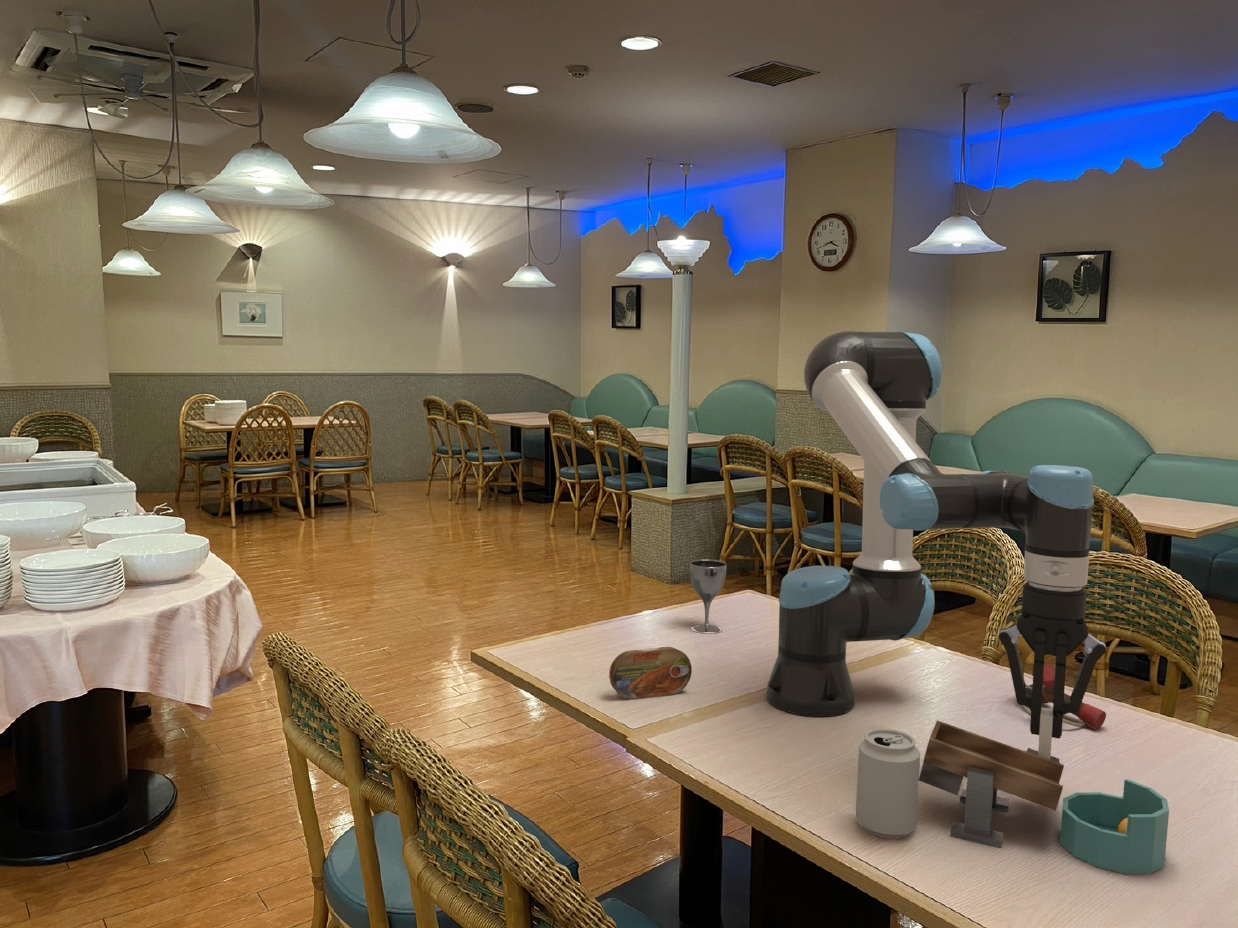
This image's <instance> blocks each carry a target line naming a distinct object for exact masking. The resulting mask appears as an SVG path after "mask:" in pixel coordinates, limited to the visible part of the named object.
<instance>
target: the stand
mask: <svg viewBox="0 0 1238 928" xmlns="http://www.w3.org/2000/svg"><path fill="white" fill-rule="evenodd" d="M993 786H994V771H989V770H984V769H979V768H974V767H969V768H968V772H967V778H966V789H965V788H962V789H961V792H960V796H959V802H960V803H965V806H964V807H965V809H964V820H963V821H964V823H960V822H956V821H952V824H951V827H950V833H949V834H950V835H949V836H950V837H952V838H957V839H961V840H967V841H971V842H974V843H979V844H983V845H987V846H990V847H995V848H1000V849H1002V848H1003V843H1004V842H1003V841H1004V832H999V831H996V830H991V829H992V814H993V809H994V810H999V811H1004V812H1007V813H1008V812H1009V807H1010V798H1007V797H1004V796H1000V795H998V789H995V788H993Z"/></svg>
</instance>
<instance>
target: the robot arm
mask: <svg viewBox="0 0 1238 928" xmlns="http://www.w3.org/2000/svg"><path fill="white" fill-rule="evenodd" d="M942 372H943V371H942V362H941V358H940V354H939V352H938V350H937V348H936V346H935V345H934V344H933V343H932V341H931V340H930V339H929V338H927V337H926V336H924V335H922V334H919V333H911V332H904V331H855V330H854V331H853V330H845V331H844V330H843V331H838V332H834V333H832V334H830V335H828V336H826V337H824V338H823V339H822V340H820V341H819V342H818V343H817V344H816V345H814V347H813V348H812V350H811V351H810V353H809V355H808V357H807V359H806V361H805V365H804V371H803V378H804V380H803V382H804V385H805V389H806V391H807V393H808V395H809V397H810V399H811V400H812V401H813V404H815V405H816V407H817V408H819V409H820V411H821V410H822V411H824V412H827V413H829V414H830V416H831V417H832V418H833V420H834V421H835V422H836V424H837V425H838V426H839V428H840V429H841V430H842V432H843V433H844V435H845V436H846V438H847V439H848V440H849V442H850V443H851V444H852V445H853V448H854V449H855V450H856V451H857V452H858V454H859V455H860V457H861V458H862V460H863V491H862V492H863V493H862V495H863V496H862V497H863V498H862V529H861V531H862V536H861V538H862V539H861V553H860V555H858V557H856V558H855V559H854V560H853V561H852V574H850V573H849V571H848V569H846V568H844V567H841V566H836V565H825V566H824V565H812V566H811V565H810V566H804V567H801V568H797V569H796V568H795V569H794V570H792V571H789V572H788V573H787V574H785V576H784V577H782V580H781V585H780V593H779V598H778V603H779V608H778V609H779V611H778V612H779V615H778V617H779V619H778V647H777V648H778V649H777V657H776V660H775V663H774V666H773V668H772V670H771V673H770V675H769V679H768V681H767V685H766V695H765V697H766V700H767V701H768V703H770V705H771V706H773V707H775V708H777V709H780V710H782V711H785V712H789V713H791V714H795V715H802V716H811V717H832V716H838V715H842V714H846V713H848V712H850V711H851V710H852V709H853V708H854V707H855V688H854V685H853V682H852V678H851V675H850V671H849V669H848V664H847V658H846V657H847V643H851V642H852V643H853V642H854V643H855V642H870V641H888V640H890V641H894V642H896V641H901V640H904V639H911V638H916V637H918V636H920V635H922V633H923V632H924V631H925V630H926V629H927V628H928V626H929V625H930V624H931V622H932V621H931V620H932V618H933V615H934V609H935V591H934V590H933V589H932V583H931V580H930V579H929V578H928V577H927V575H925V574H924V573H922V565H921V564H920V563H919V561H917V560H916V559H915V557H914V556H913V547H914V546H913V545H914V544H913V543H914V541H913V539H914V531H915V532H916V531H917V532H918V531H926V530H927V531H930V530H931V531H932V530H951V529H952V530H953V529H991V528H992V529H994V528H1003V529H1004V528H1006V529H1011V530H1015V531H1019V532H1023V533H1025V544H1024V545H1025V546H1024V560H1023V561H1024V565H1023V579H1024V580H1026V582H1025V583H1024V584H1023V585H1022V597H1021V599H1022V600H1021V614H1020V616H1019V617H1018V619H1017V621H1016V624H1015V625H1013V626H1011V627H1009V628H1001V629H1000V631H999V634H998V639H999V641H1000V642H1001V644H1002V646H1003V648H1004V649H1005V651H1006V654H1007V655H1006V656H1007V660H1008V661H1007V662H1008V666H1009V670H1010V674H1011V680H1012V684H1013V690H1014V695H1015V699H1016V702H1017V704H1018V705H1020V706H1022V705H1024V706H1026V707H1027V708H1028V710H1029V711H1030V712H1031V715H1030V722H1029V723H1030V724H1029V725H1030V727H1029V730H1030V731H1029V732H1030V733H1031V735H1036V736H1038V748H1037V749H1038V750H1037V751H1038V756H1040V757H1043V758H1046V759H1048V760H1050V758H1051V756H1052V755H1051V754H1052V739H1053V738H1054V739H1061V737H1062V735H1063V723H1064V722H1063V719H1064V716H1065V715H1066V714H1072V713H1077V712H1078V711H1079V708H1080V706H1081V703H1082V702H1083V699H1084V697H1085V694H1086V692H1087V688H1088V686H1089V683H1090V680H1091V677H1092V674H1093V672H1094V669H1095V666H1096V663H1098V661H1099V660H1100V659H1101V658H1102V657H1103V655H1105V654H1106V652H1107V646H1106V645H1107V644H1106V643H1105V641H1104V640H1099V639H1097V638H1096V637H1094V636H1093V635H1092V634H1090V633H1089V632H1090V631H1089V627H1088V626H1087V624H1086V610H1087V609H1086V608H1087V595H1088V593H1087V591H1086V589H1085V588H1084V587H1085V586H1087V584H1088V578H1089V565H1090V545H1091V532H1092V531H1091V530H1092V519H1093V506H1094V503H1095V499H1094V483H1093V482H1094V480H1093V479H1094V477H1093V474H1092V472H1091V470H1088V469H1087V468H1084V467H1079V466H1073V465H1072V466H1070V465H1069V466H1068V465H1061V464H1059V465H1058V464H1057V465H1055V464H1041V465H1038V464H1037V465H1035V466H1033V467H1032V468H1031V469H1030V470H1029V476H1026V475H1022V474H1016V473H1012V472H1010V471H1005V470H986V471H982V472H979V473H966V474H965V473H950V474H949V473H948V474H947V473H942V472H941V471H940V470H939V469H938V467H937V466H936V464H934V463H933V462H932V460H931V458H929V457H928V456H927V454H926V453H925V452H924V450H923V449H922V448H921V447H920V446H919V444H918V443H917V442H916V441H917V439H916V438H917V420H918V418H919V417H920V416H922V415H923V414H924V413H925V412H926V410H927V409H926V407H927V406H926V405H927V401H929V400H930V399H932V398H934V397H935V395H936V394H937V393H938V391H939V387H940V386H941V384H942V376H943V375H942V374H943V373H942ZM1019 635H1021V636H1022V637H1023V638H1024V639H1025V641H1026V642H1027V644H1028V645H1029V647H1030V648H1031V651H1032V652H1034V665H1033V673H1032V684H1033V686H1032V696H1030V695H1028V694H1027V690H1026V688H1027V687H1026V685H1025V683H1026V681H1025V677H1024V676H1025V675H1024V676H1023V671H1022V666H1021V661H1020V656H1019V651H1018V647H1017V643H1018V641H1019V638H1020V636H1019ZM1082 643H1085V644H1084V652H1085V655H1084V657H1083V660H1082V663H1081V666H1080V669H1079V672H1078V674H1077V678H1076V681H1075V683H1074V685H1073V689H1072V691H1071V695H1070V696H1071V697H1070V700H1068V701H1064V693H1065V690H1066V689H1065V688H1066V687H1065V686H1066V685H1065V683H1066V671H1067V669H1066V667H1067V657H1068V656H1070V655H1071V654H1073V652H1074V651H1076V649H1078V647H1080V646H1081V644H1082ZM1048 655H1049V656H1054V657H1055V666H1054V667H1055V683H1054V700H1053V703H1052V708H1048V707H1043V703H1042V694H1043V678H1044V664H1045V662H1046V661H1045V659H1046V656H1048Z"/></svg>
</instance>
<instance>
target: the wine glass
mask: <svg viewBox="0 0 1238 928" xmlns="http://www.w3.org/2000/svg"><path fill="white" fill-rule="evenodd" d="M689 564H690V565H689V571H690V572H689V573H690V581H691V585H692V588H693V589H694V591H695V592H696V594H697V595H698V597H699V598H700V599H701V600H702V601H701V602H702V603H703V606H704V622H703V623H702V624H695V626H694V625H692V626H691V627H694V628H693V629H695V630H696V631H698V632H719V631H720V629H719V628H718V625H714V624H710V622H709V621H710V620H709V616H710V614H709V613H710V608H711V605H712V602H713V600H714V599H715V598H716V597H717V595H718V594H719V593H721V591H722V590H723V589H724V585H725V583H726V582H725V581H726V576H727V563H726V562H725V561H723V560H717V559H710V558H709V559H708V558H706V559H705V558H704V559H700V558H699V559H694V560H691V561H690V563H689ZM719 633H720V632H719Z"/></svg>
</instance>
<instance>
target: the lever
mask: <svg viewBox="0 0 1238 928" xmlns="http://www.w3.org/2000/svg"><path fill="white" fill-rule="evenodd" d="M927 742H928V743H927V746H926V750H925V753H924V757H923V762H922V766H921V770H920V772H919V782H921V783H924V784H927V785H928V786H932V787H934V788H937V789H940V790H942V791H945V792H948V793H949V794H952V795H955V796H959V792H960V789H961V786H962V782H963V780H964V778H966V779H967V772H968V768H969V767H974V768H979V769H984V770H989V771H994V786H993V788H995V789H997V791H1001V792H1004V793H1006V794H1008V795H1011V796H1014V797H1016V798H1020V799H1022V800H1025V801H1028V802H1030V803H1033V804H1036V805H1038V806H1040V807H1044V808H1047V809H1049V810H1051V811H1055V812H1057V809H1058V805H1059V802H1060V798H1061V795H1062V792H1063V788H1064V785H1062V784H1061V783H1060V781H1061V777H1062V775H1063V772H1064V767H1065V765H1064V764H1062V763H1061V762H1060V758H1058V757H1056V756H1053V755H1051V758H1050V760H1048V759H1046V758H1043V757H1040V756H1038V750H1035V749H1032V748H1030V747H1027V750H1022V749H1020V748H1016V747H1014V746H1011V745H1009V744H1005V743H1002V742H999V741H998V740H994V739H991V738H988V737H985V736H983V735H980V734H977V733H976V732H975V733H974V732H971V731H968V730H966V729H964V728H961V727H957V726H954V725H952V724H950V723H946V722H943V721H940V720H936V721H935V724H934V726H933V729H932V732H931V734H930V736H929V739H928V741H927Z"/></svg>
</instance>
